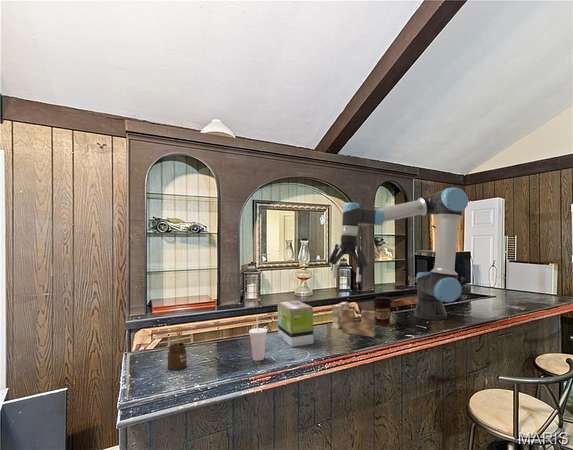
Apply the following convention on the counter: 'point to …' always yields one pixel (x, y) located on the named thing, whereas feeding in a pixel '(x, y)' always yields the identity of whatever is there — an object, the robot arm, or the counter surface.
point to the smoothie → (258, 342)
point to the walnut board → (359, 328)
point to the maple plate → (338, 314)
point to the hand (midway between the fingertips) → (345, 279)
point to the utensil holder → (177, 354)
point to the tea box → (295, 323)
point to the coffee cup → (382, 310)
